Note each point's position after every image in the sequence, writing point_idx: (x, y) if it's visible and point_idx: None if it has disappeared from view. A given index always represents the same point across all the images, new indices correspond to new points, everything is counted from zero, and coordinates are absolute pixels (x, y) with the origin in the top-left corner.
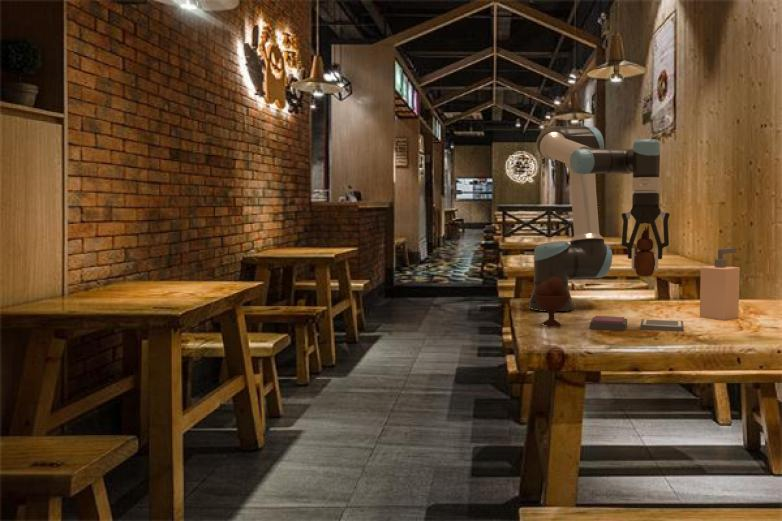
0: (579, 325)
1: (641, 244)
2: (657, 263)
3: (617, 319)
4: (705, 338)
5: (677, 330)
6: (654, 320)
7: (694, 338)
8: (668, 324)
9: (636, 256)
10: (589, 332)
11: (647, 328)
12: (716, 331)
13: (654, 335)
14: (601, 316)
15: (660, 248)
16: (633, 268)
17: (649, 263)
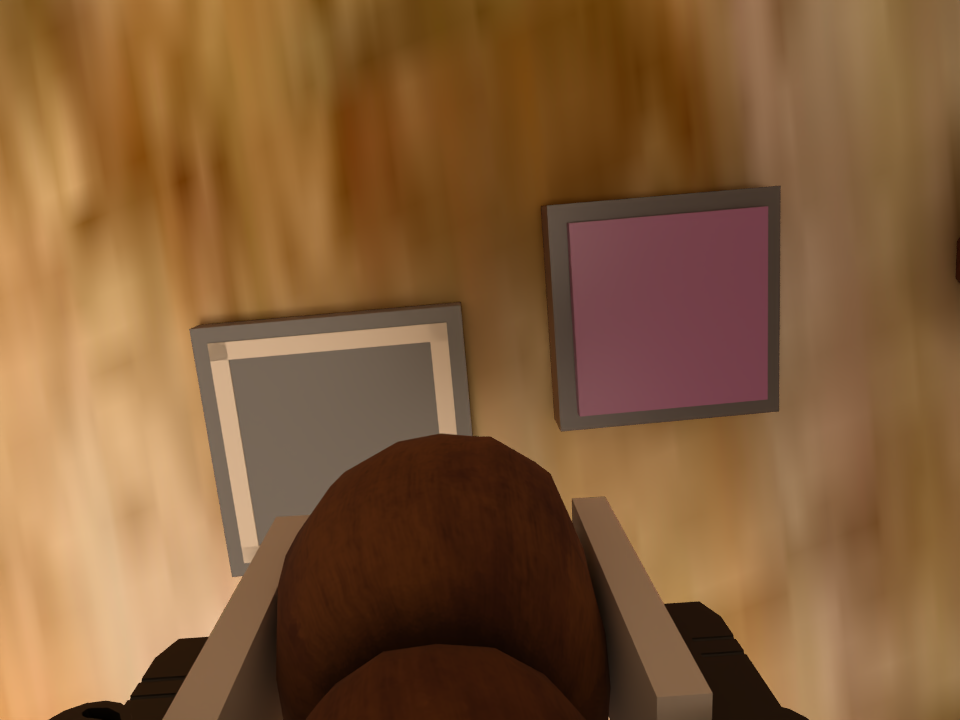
0: (837, 304)
1: (506, 708)
2: (251, 567)
3: (612, 297)
4: (31, 117)
5: (234, 322)
6: None
7: (94, 89)
8: (296, 403)
9: (575, 569)
10: (750, 58)
11: (415, 307)
12: (16, 403)
13: (344, 105)
14: (729, 385)
15: (82, 706)
16: (584, 509)
17: (354, 476)
